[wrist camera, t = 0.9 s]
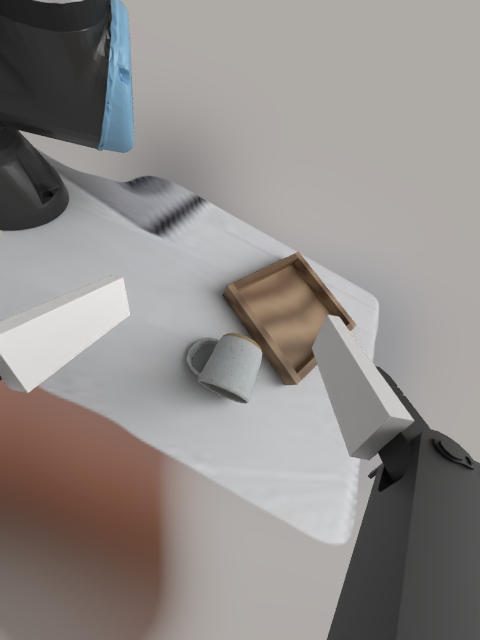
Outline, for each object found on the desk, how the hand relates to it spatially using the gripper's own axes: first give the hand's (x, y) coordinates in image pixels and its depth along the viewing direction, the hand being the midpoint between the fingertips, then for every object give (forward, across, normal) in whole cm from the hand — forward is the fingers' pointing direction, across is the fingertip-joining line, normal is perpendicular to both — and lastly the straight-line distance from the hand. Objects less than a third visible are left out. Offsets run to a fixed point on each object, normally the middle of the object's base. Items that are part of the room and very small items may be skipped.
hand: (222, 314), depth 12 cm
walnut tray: (+24, +10, -11) cm, 28 cm away
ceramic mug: (+11, -1, -17) cm, 20 cm away
